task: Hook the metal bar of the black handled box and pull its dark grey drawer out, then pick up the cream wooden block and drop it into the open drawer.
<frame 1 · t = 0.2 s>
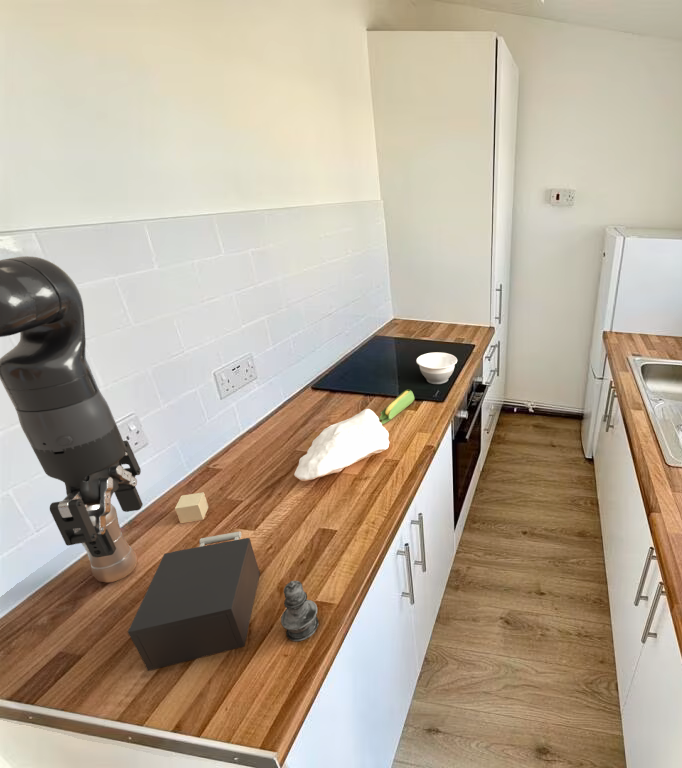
hand: (120, 530, 59), 29 cm above the worktop, tool pointing down, fingers open, 8 cm apart
bowl: (437, 379, 173), on the worktop
drawer: (209, 578, 80), point 5 cm above the worktop, slide at 0.0 cm
edible corn: (397, 412, 149), on the worktop
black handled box: (210, 616, 79), on the worktop
silver metal bottle: (120, 573, 86), on the worktop
block: (194, 515, 101), on the worktop
grey tiered figure: (302, 627, 78), on the worktop
crumpled cloth: (348, 457, 124), on the worktop
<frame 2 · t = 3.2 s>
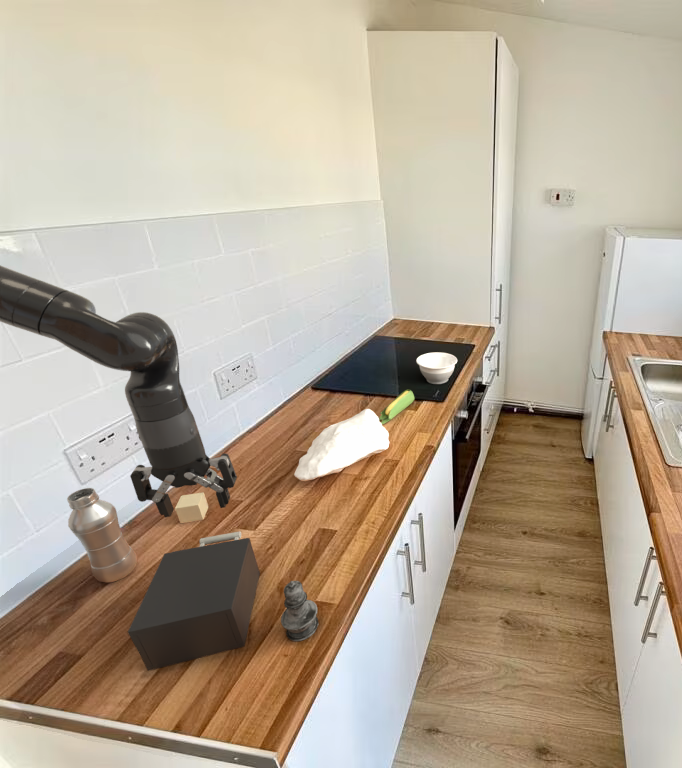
hand: (197, 509, 78), 18 cm above the worktop, tool pointing down, fingers open, 8 cm apart
nothing on the worktop moved.
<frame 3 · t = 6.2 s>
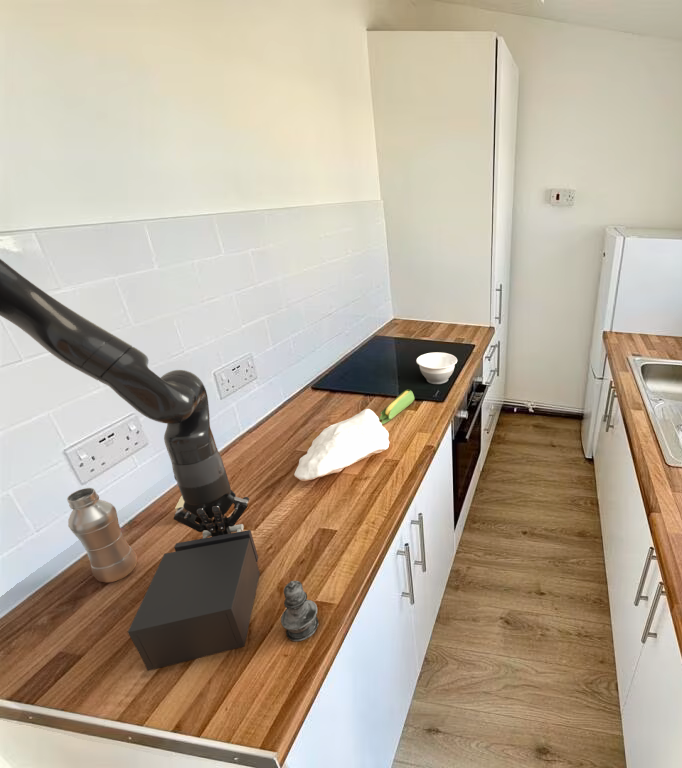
hand: (223, 541, 89), 5 cm above the worktop, tool pointing down, fingers closed
drawer: (213, 569, 82), point 5 cm above the worktop, slide at 2.2 cm, touching gripper
everything else where it was.
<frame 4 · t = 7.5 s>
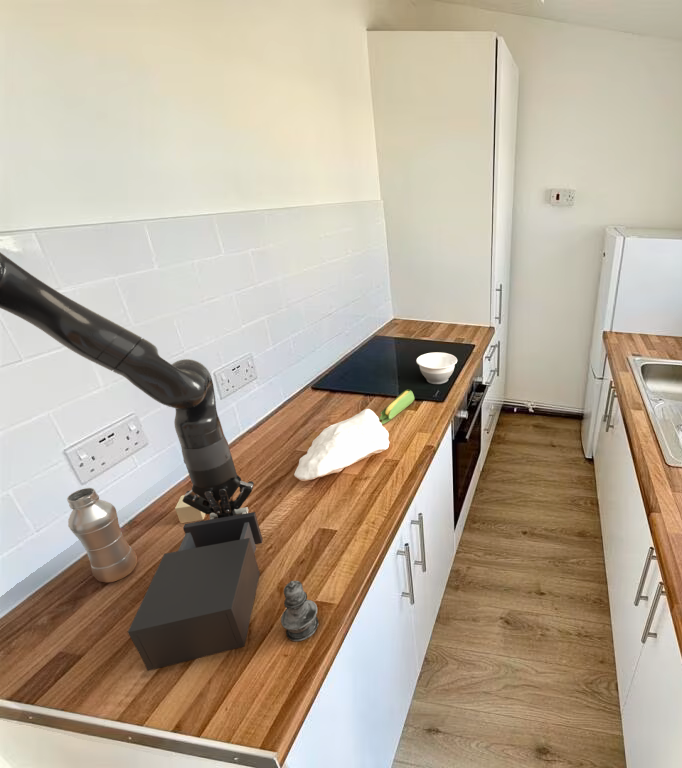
hand: (229, 523, 93), 5 cm above the worktop, tool pointing down, fingers closed
drawer: (219, 548, 87), point 5 cm above the worktop, slide at 7.5 cm, touching gripper
everything else where it was.
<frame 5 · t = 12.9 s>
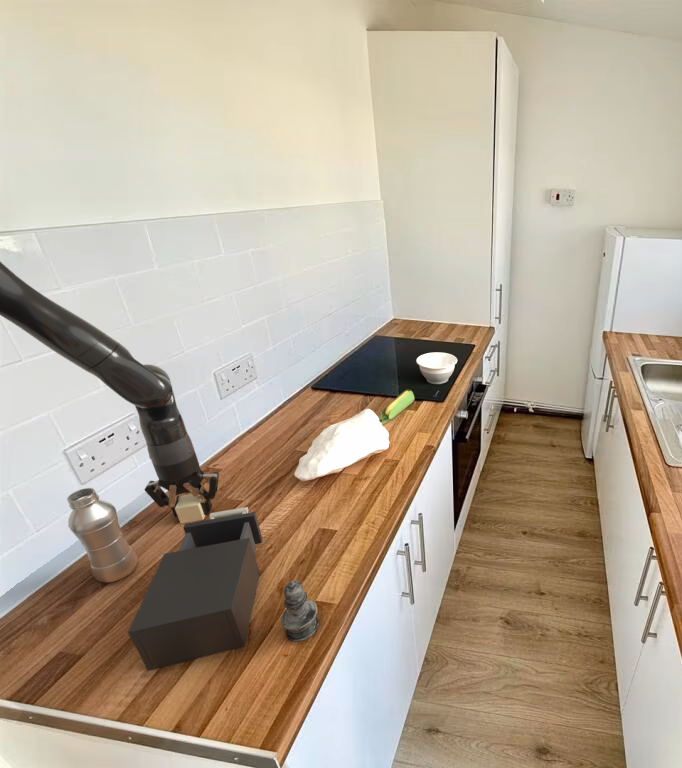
hand: (194, 513, 101), 0 cm above the worktop, tool pointing down, fingers closed on block, 4 cm apart
drawer: (219, 548, 87), point 5 cm above the worktop, slide at 7.5 cm
block: (194, 515, 101), on the worktop, touching gripper
everything else where it was.
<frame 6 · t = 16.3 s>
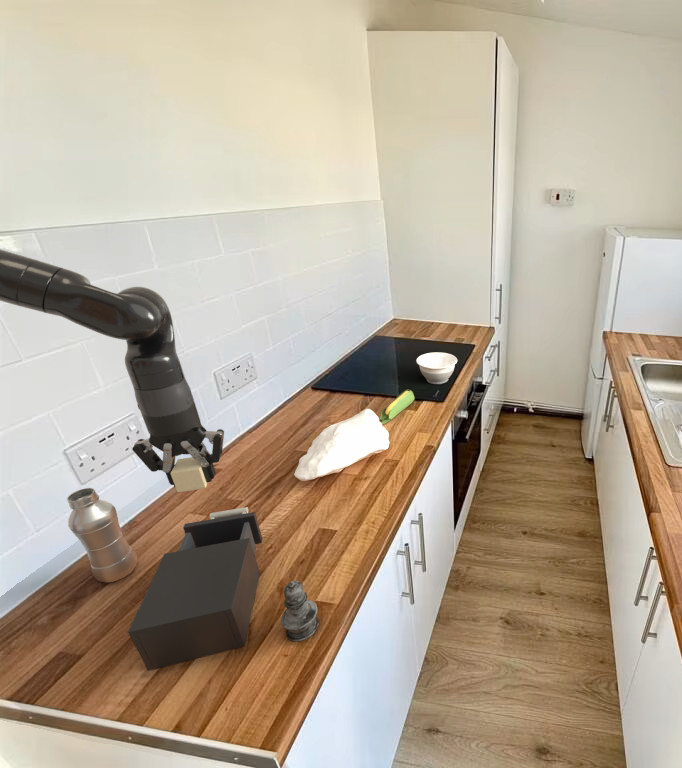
hand: (194, 481, 83), 19 cm above the worktop, tool pointing down, fingers closed on block, 4 cm apart
block: (195, 483, 83), point 19 cm above the worktop, touching gripper
everything else where it was.
when the fingers open (9 cm above the worktop, at t = 19.7 s): block drops 7 cm, resting on drawer.
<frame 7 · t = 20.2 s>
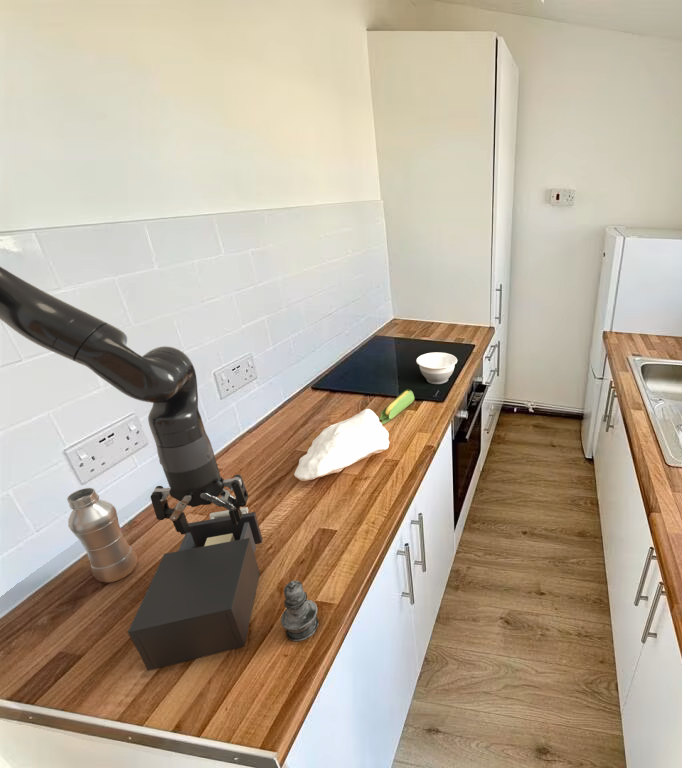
hand: (211, 526, 84), 11 cm above the worktop, tool pointing down, fingers open, 8 cm apart
drawer: (219, 548, 87), point 5 cm above the worktop, slide at 7.5 cm, touching block
block: (222, 559, 88), point 2 cm above the worktop, touching drawer
everything else where it was.
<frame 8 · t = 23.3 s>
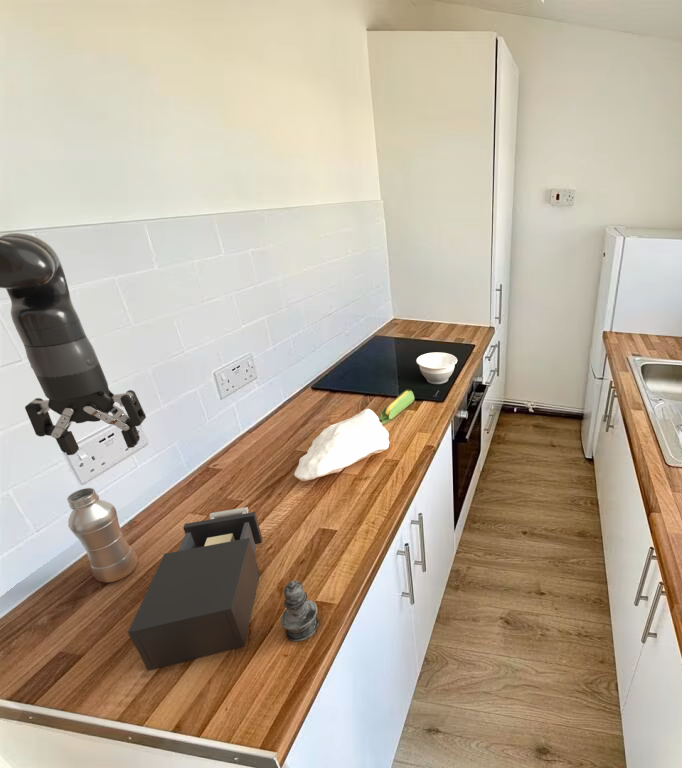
hand: (103, 448, 76), 28 cm above the worktop, tool pointing down, fingers open, 8 cm apart
nothing on the worktop moved.
at the end: drawer slide at 7.5 cm; block inside the target area in the drawer (0.5 cm from its centre), point 2.1 cm above the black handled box's base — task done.
